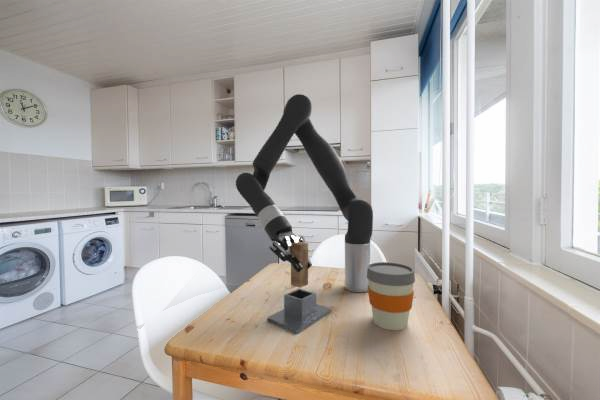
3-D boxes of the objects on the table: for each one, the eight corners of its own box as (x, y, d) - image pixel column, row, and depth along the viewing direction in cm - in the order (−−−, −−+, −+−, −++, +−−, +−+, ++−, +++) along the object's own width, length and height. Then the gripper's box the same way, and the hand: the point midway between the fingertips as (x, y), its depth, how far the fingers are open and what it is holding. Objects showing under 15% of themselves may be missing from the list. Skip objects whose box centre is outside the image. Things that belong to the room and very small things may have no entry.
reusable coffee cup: (359, 325, 72) (359, 270, 72) (375, 308, 82) (375, 259, 82) (409, 339, 65) (409, 278, 64) (419, 318, 75) (419, 266, 75)
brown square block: (298, 281, 80) (298, 241, 79) (308, 284, 77) (308, 243, 77) (290, 285, 77) (290, 243, 77) (300, 287, 75) (300, 245, 74)
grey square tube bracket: (302, 302, 87) (302, 282, 87) (331, 311, 80) (331, 290, 80) (267, 321, 75) (266, 298, 75) (297, 334, 68) (297, 308, 68)
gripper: (263, 216, 76) (296, 266, 68) (295, 213, 87) (327, 256, 79) (251, 233, 79) (281, 282, 72) (283, 228, 90) (312, 270, 83)
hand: (305, 268), depth 76 cm, fingers closed on brown square block, 3 cm apart
